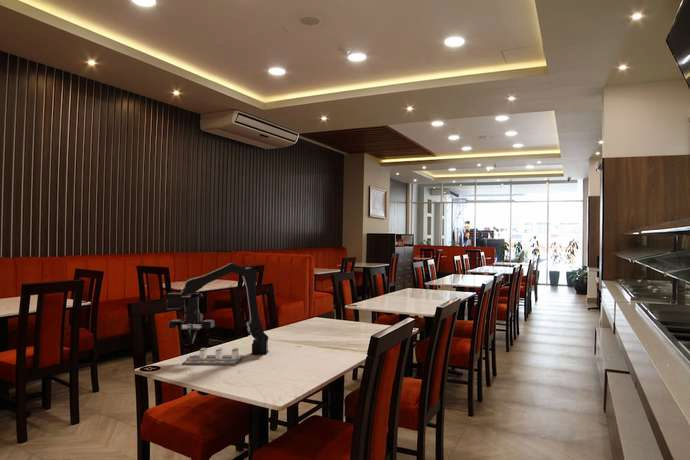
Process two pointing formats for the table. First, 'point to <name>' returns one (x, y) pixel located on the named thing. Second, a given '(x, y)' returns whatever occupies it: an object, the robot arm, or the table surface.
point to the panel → (212, 360)
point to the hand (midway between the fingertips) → (191, 343)
